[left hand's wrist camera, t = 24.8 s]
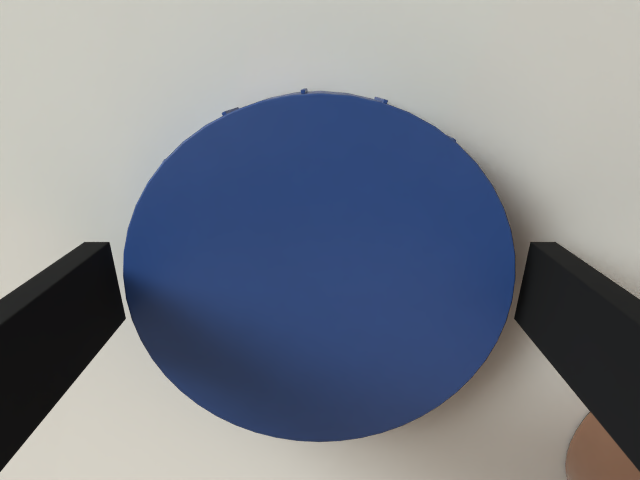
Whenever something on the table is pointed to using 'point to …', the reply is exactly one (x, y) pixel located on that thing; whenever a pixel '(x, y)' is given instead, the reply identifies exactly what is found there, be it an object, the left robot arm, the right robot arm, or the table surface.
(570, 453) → the jar
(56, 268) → the left robot arm
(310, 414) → the lid
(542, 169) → the table surface
